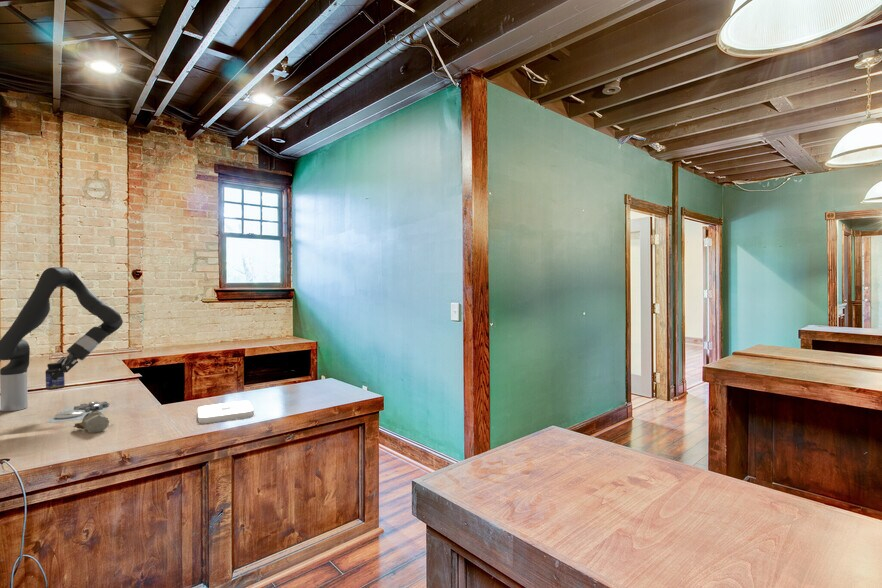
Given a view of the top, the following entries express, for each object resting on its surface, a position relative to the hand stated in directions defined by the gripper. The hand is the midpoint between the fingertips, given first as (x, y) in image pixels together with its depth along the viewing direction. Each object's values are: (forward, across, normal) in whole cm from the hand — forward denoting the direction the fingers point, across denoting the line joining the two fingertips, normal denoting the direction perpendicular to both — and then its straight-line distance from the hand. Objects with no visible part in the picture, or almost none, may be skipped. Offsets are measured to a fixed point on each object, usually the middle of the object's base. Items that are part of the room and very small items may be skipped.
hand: (50, 378), depth 185 cm
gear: (+2, -4, +23) cm, 23 cm away
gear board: (+7, +1, +20) cm, 21 cm away
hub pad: (+8, +3, +16) cm, 18 cm away
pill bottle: (+2, 0, +5) cm, 5 cm away
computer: (-19, +52, +49) cm, 74 cm away
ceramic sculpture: (+10, +29, +18) cm, 36 cm away
